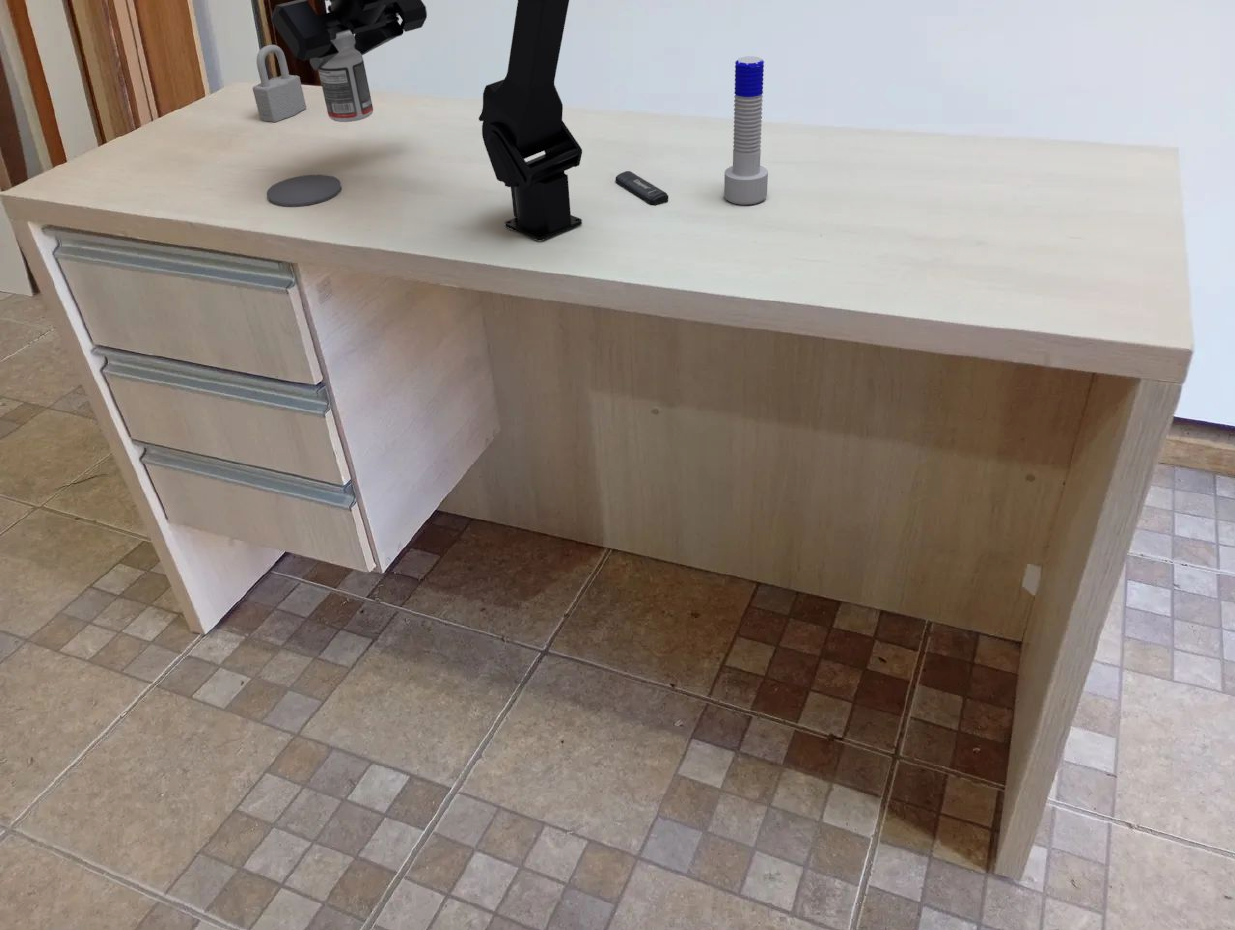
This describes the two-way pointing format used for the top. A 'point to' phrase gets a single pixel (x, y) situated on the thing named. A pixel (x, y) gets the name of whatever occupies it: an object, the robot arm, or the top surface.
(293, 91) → the padlock
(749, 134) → the bolt
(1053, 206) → the top surface
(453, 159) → the top surface
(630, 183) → the usb stick
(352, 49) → the pill bottle
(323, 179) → the coaster
